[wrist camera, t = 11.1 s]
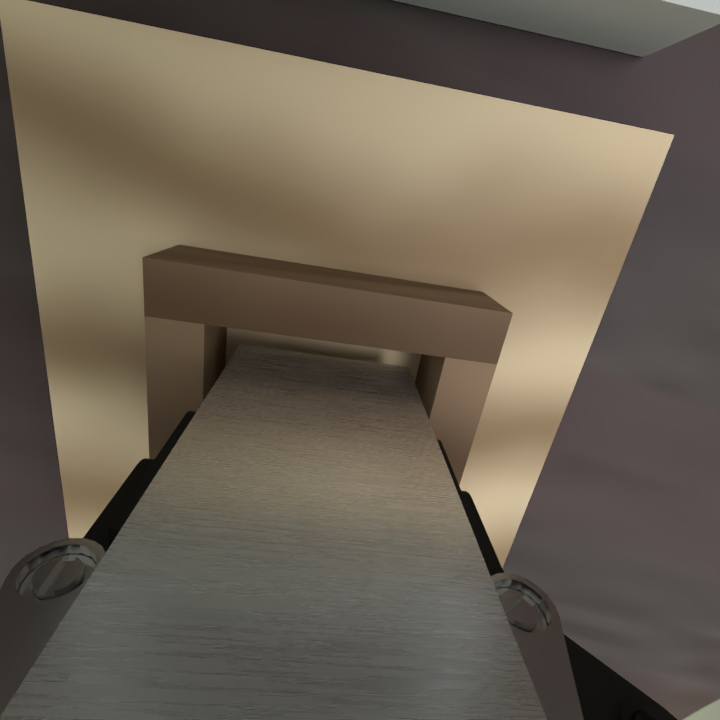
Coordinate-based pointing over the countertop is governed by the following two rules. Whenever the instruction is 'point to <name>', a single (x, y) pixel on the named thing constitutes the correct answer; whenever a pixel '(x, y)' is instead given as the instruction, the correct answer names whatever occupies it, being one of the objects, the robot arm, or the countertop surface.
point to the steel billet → (291, 569)
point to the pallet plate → (306, 241)
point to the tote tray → (594, 19)
